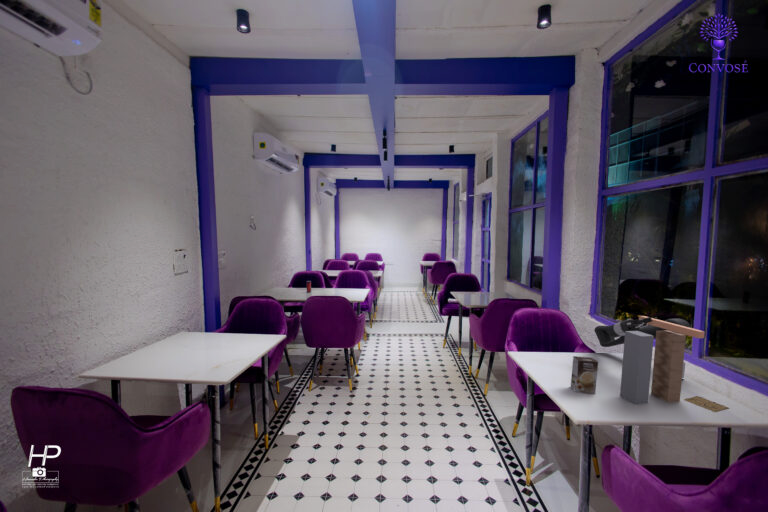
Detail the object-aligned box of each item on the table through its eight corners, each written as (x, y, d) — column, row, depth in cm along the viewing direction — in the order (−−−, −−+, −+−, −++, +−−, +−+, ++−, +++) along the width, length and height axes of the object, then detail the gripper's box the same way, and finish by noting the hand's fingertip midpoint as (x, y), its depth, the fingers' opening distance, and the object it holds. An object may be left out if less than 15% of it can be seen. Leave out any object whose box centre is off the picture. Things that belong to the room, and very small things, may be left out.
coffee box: (576, 392, 161) (578, 360, 160) (570, 386, 167) (572, 355, 166) (596, 394, 160) (598, 362, 159) (589, 388, 166) (591, 357, 165)
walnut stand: (650, 394, 162) (656, 330, 160) (662, 393, 163) (668, 330, 161) (667, 402, 154) (673, 335, 152) (679, 401, 155) (685, 335, 154)
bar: (638, 321, 171) (639, 315, 171) (643, 321, 172) (644, 315, 172) (698, 338, 144) (699, 331, 144) (704, 338, 144) (704, 331, 144)
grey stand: (619, 395, 159) (625, 331, 157) (632, 395, 160) (637, 330, 158) (635, 404, 151) (641, 336, 149) (647, 403, 152) (653, 335, 150)
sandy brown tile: (682, 400, 157) (682, 398, 157) (697, 396, 162) (697, 395, 162) (714, 413, 146) (715, 411, 146) (729, 409, 150) (730, 407, 150)
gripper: (639, 334, 180) (668, 326, 165) (617, 334, 177) (645, 326, 162) (634, 320, 183) (662, 311, 168) (612, 321, 181) (639, 311, 165)
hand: (653, 319), depth 165 cm, fingers closed on bar, 3 cm apart
